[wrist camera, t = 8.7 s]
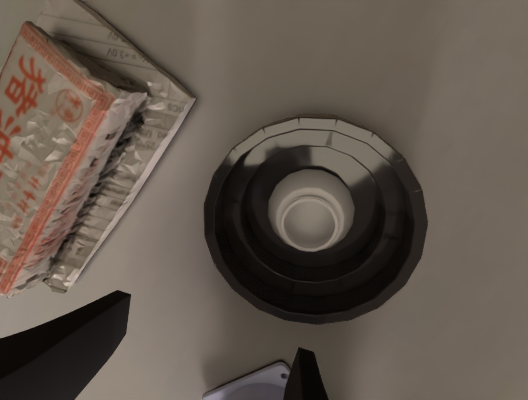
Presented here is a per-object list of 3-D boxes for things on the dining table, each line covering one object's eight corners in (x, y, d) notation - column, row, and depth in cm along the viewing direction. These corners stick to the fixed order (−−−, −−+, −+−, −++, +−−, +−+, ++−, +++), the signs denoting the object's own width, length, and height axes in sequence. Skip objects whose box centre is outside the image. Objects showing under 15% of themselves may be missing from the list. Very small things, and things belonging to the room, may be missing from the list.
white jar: (362, 233, 20) (338, 156, 19) (369, 255, 17) (341, 166, 16) (285, 254, 21) (258, 182, 20) (280, 277, 19) (248, 196, 18)
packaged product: (24, 328, 21) (-107, 232, 21) (77, 288, 26) (-29, 208, 25) (168, 97, 15) (-9, -47, 15) (203, 97, 20) (69, -13, 19)
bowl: (439, 235, 20) (469, 268, 16) (285, 309, 23) (278, 352, 19) (344, 73, 18) (350, 65, 14) (192, 177, 22) (162, 195, 18)
